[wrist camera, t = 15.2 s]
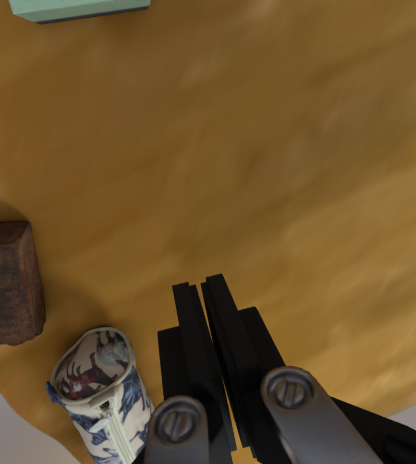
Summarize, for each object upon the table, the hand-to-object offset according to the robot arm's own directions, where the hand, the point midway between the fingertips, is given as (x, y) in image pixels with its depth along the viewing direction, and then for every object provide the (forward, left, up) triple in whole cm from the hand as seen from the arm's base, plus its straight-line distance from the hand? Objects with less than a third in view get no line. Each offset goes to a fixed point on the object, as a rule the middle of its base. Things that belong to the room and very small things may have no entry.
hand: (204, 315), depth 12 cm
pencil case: (+10, +27, -23) cm, 37 cm away
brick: (+15, +8, -23) cm, 29 cm away
